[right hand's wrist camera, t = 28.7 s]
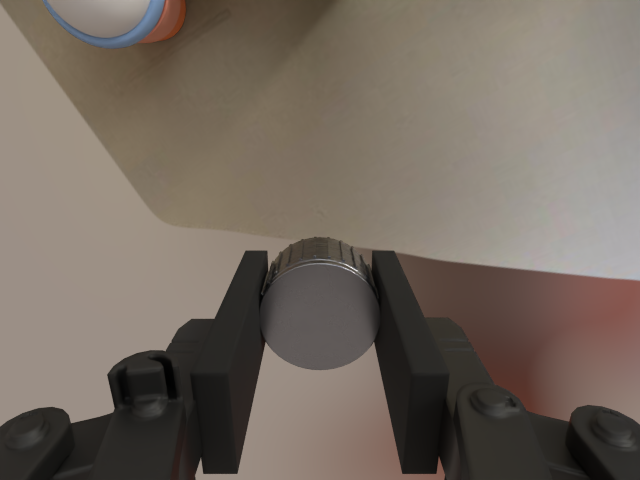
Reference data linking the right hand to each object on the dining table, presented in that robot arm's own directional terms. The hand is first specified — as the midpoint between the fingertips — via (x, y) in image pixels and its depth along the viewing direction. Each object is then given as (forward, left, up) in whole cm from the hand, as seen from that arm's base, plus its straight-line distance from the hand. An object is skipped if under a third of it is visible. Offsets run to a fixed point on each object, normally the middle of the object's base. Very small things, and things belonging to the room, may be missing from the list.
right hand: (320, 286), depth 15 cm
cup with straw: (-13, -16, -31) cm, 37 cm away
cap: (0, 0, +2) cm, 2 cm away
